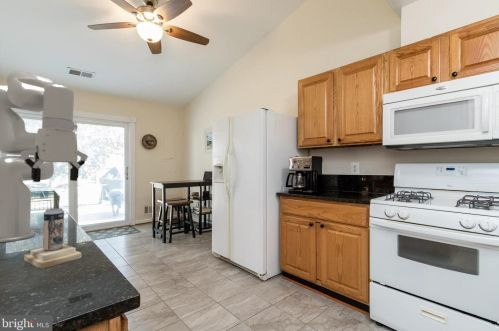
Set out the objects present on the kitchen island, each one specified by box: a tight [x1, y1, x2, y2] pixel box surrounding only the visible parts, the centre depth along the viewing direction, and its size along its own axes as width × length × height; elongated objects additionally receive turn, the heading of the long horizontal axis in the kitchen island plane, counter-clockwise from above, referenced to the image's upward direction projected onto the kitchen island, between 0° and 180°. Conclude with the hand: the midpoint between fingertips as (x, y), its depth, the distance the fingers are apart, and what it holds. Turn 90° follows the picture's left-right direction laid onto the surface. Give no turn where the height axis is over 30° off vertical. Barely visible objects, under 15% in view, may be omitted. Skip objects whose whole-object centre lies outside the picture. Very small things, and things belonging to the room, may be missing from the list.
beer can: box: [42, 207, 65, 251], centre depth 75 cm, size 5×5×12 cm
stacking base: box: [23, 243, 83, 270], centre depth 75 cm, size 12×10×3 cm
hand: (56, 181), depth 77 cm, fingers open, 9 cm apart
